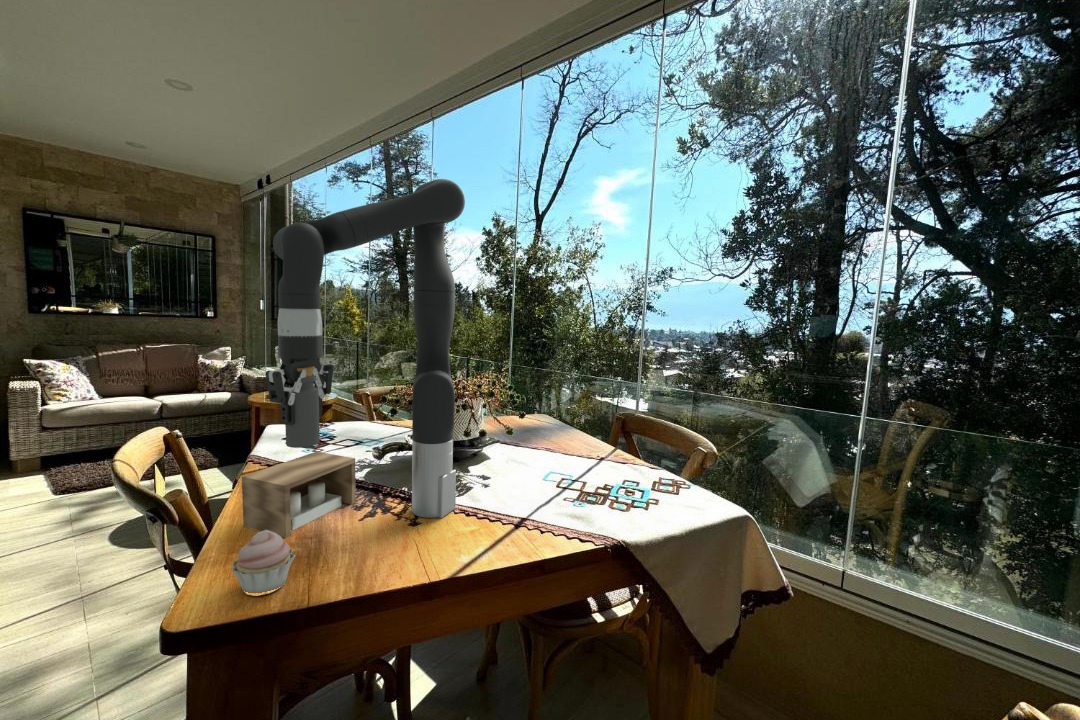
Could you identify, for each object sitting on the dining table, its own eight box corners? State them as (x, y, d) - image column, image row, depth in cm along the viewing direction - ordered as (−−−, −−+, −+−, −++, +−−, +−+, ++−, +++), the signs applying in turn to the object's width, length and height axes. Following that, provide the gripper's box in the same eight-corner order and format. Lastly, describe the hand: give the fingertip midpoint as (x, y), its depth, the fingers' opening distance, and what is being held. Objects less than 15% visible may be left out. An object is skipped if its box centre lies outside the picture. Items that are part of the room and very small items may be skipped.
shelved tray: (341, 505, 115) (341, 482, 114) (292, 530, 102) (292, 503, 101) (315, 500, 118) (315, 477, 117) (264, 523, 104) (263, 497, 104)
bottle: (310, 448, 90) (308, 369, 89) (279, 447, 90) (277, 368, 89) (325, 440, 96) (323, 365, 94) (296, 439, 96) (293, 364, 95)
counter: (355, 502, 117) (355, 458, 116) (286, 537, 98) (284, 485, 97) (317, 494, 121) (316, 451, 120) (243, 526, 103) (241, 476, 101)
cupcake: (269, 607, 76) (268, 546, 75) (218, 599, 78) (216, 539, 77) (308, 575, 85) (307, 521, 84) (261, 568, 87) (259, 515, 86)
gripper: (283, 335, 83) (286, 431, 85) (344, 332, 96) (345, 415, 98) (251, 333, 86) (254, 427, 87) (315, 330, 99) (316, 411, 101)
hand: (302, 420), depth 93 cm, fingers closed on bottle, 6 cm apart
